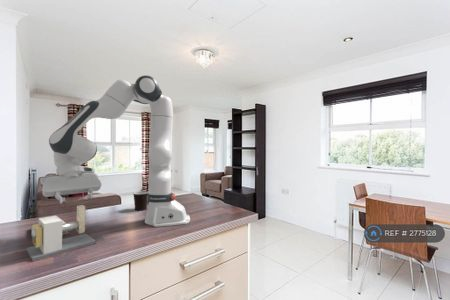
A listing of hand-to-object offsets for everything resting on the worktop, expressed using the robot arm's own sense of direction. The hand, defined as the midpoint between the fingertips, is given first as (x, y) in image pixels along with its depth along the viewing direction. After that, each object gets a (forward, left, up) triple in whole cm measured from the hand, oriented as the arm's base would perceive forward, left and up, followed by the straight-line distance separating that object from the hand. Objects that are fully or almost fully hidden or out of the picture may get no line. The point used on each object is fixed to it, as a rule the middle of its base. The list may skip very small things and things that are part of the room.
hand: (77, 200), depth 88 cm
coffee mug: (-16, -41, -16) cm, 47 cm away
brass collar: (+7, +12, -12) cm, 18 cm away
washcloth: (+15, -10, -16) cm, 24 cm away
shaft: (+2, +8, -11) cm, 14 cm away
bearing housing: (+1, +7, -15) cm, 17 cm away
